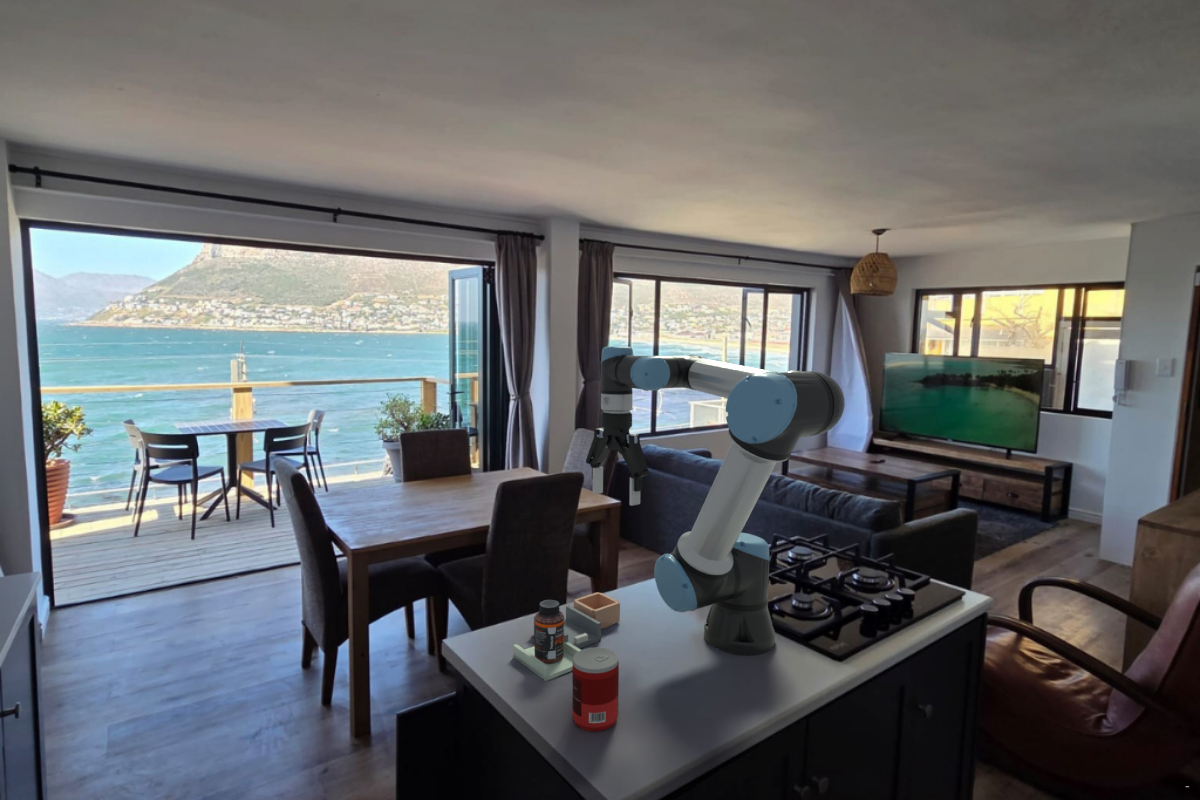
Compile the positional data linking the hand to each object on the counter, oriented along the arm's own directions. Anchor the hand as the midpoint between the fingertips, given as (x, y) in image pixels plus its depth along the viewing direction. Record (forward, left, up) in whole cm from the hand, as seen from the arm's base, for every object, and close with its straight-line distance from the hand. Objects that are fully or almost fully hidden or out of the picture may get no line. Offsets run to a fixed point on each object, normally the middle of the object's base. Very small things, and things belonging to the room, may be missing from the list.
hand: (615, 498), depth 152 cm
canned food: (-33, +33, -27) cm, 54 cm away
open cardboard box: (-4, +9, -27) cm, 28 cm away
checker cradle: (-6, +19, -27) cm, 33 cm away
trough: (-12, +28, -27) cm, 41 cm away
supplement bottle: (-12, +28, -26) cm, 40 cm away
